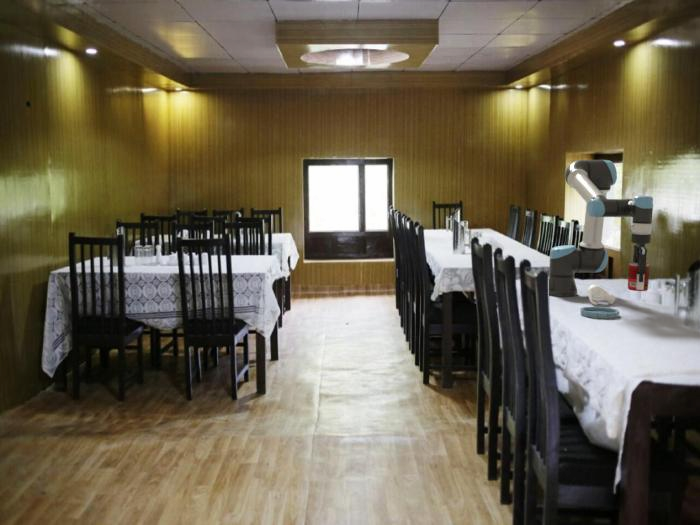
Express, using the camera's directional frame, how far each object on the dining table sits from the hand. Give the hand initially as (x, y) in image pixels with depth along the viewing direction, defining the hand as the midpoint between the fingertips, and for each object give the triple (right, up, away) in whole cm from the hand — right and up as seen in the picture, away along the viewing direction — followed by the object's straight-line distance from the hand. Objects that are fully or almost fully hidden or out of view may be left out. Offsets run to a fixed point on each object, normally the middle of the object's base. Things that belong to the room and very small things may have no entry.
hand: (637, 287), depth 322 cm
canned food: (0, -1, 0) cm, 1 cm away
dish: (-17, -11, -2) cm, 20 cm away
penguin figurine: (-7, -8, +24) cm, 27 cm away
